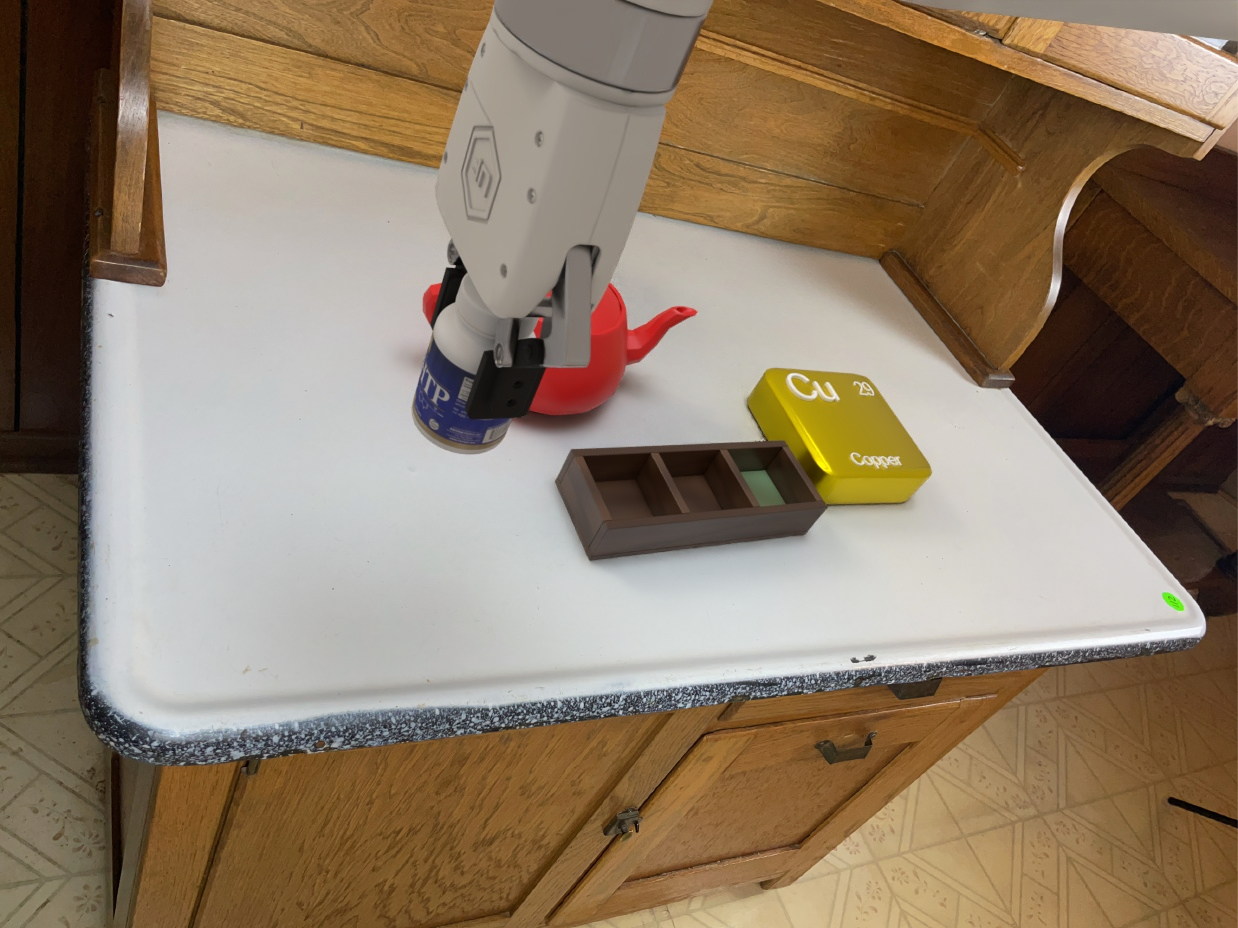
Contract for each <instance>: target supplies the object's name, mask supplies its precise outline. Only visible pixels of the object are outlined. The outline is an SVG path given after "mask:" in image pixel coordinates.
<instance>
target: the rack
mask: <svg viewBox="0 0 1238 928" xmlns="http://www.w3.org/2000/svg"><path fill="white" fill-rule="evenodd" d="M554 481H555V482H554V483H555V484H556V487H557V489H558V492H559V493H560V496H561V498H562V500H563V503H564V505H565V508H566V510H567V513H568V514H569V516H570V519H571V521H572V523H573V526H574V528H575V531H576V533H577V535H578V537H579V540H580V542H581V544H582V547H583V548H584V549H583V550H584V551H585V554H586V556H587V558H588V560H589V561H594V560H603V559H610V558H619V557H628V556H636V555H643V554H653V553H661V552H670V551H678V550H688V549H695V548H703V547H712V546H720V545H727V544H737V543H743V542H752V541H761V540H770V539H778V538H786V537H793V536H794V537H796V536H802V535H806V534H808V531H809V530H810V529H811V528H812V527H814V524H815V523H816V522H817V521H818V520H819V519H820V518H821V516H822V515H823V514H824V513H825V512H826V510H827V509H828V508H829V506H828V504H826V503H825V502H824V501H823V499H822V497H821V496H820V494H819V493H818V491H817V489H816V488H815V486H814V485H813V483H812V482H811V480H810V479H809V477H808V476H807V474H806V472H805V471H804V469H803V468H802V466H801V465H800V463H799V462H798V460H797V459H796V457H795V456H794V454H793V452H792V451H791V449H790V448H789V447H788V445H787V443H786V442H785V441H784V440H779V441H768V440H759V441H734V442H733V441H731V442H709V443H684V444H664V445H662V444H661V445H639V446H638V445H637V446H636V445H635V446H614V447H592V448H590V447H589V448H571V449H570V450H569V452H568V454H567V456H566V458H565V460H564V462H563V464H562V466H561V468H560V470H559V473H558V474H557V477H556V478H555V480H554Z"/></svg>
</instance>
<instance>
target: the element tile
mask: <svg viewBox="0 0 1238 928" xmlns="http://www.w3.org/2000/svg"><path fill="white" fill-rule="evenodd" d="M747 405H748V408H749V411H750V412H751V414H752V416H753V418H754V419H755V421H756V422H757V425H758V426H759V428H760V430H761V432H762V433H763V436H764V437H765V439H766V441H779V440H784V441H785V442H786V443H787V445H788V447H789V448H790V449H791V451H792V452H793V454H794V456H795V457H796V459H797V460H798V462H799V463H800V465H801V466H802V468H803V469H804V471H805V472H806V474H807V476H808V477H809V479H810V480H811V482H812V483H813V485H814V486H815V488H816V489H817V491H818V493H819V494H820V496H821V497H822V499H823V501H824V502H825V503H826V505H855V504H858V505H859V504H900V503H905V502H907V501H908V500H910V499H911V498H912V497H913V496H914V495H915V494H916V493H917V491H919V490H920V488H921V487H922V486H923V485H925V483H926V482H927V481H928V480H929V479H930V478H931V477H932V474H933V473H932V472H933V470H932V467H931V464H930V463H929V461H928V460H927V458H926V457H925V455H924V453H923V452H922V451H921V449H920V448H919V447H918V445H917V444H916V442H915V441H914V440H913V438H912V437H911V435H910V434H909V432H908V431H907V429H906V427H905V426H904V424H902V422H901V421H900V419H899V418H898V416H897V415H896V414H895V412H894V411H893V409H892V408H891V406H890V404H889V403H888V402H887V401H886V399H885V398H884V396H883V395H882V393H881V391H879V389H878V388H877V386H876V385H875V383H874V382H872V380H870V378H869V377H867V376H865V375H862V374H858V373H854V372H853V373H852V372H839V371H826V370H811V369H801V368H786V367H770V368H767V369H766V370H765V371H764V373H763V374H762V376H761V378H760V379H759V380H758V381H757V384H755V386H754V388H753V390H752V391H751V393H750V394H749V396H748V397H747Z"/></svg>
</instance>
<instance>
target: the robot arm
mask: <svg viewBox="0 0 1238 928" xmlns="http://www.w3.org/2000/svg"><path fill="white" fill-rule="evenodd" d="M900 1H902V2H906V3H908V4H914V5H919V6H924V7H930V8H935V9H940V10H941V9H943V10H950V11H958V12H959V11H960V12H968V13H978V14H987V15H996V16H1005V17H1015V18H1025V19H1034V20H1041V21H1042V20H1044V21H1053V22H1060V23H1061V22H1062V23H1070V24H1080V25H1082V24H1083V25H1088V26H1097V27H1106V28H1116V29H1124V30H1133V31H1143V32H1149V33H1150V32H1151V33H1158V34H1159V33H1160V34H1167V35H1168V34H1169V35H1178V36H1186V37H1195V38H1203V39H1204V38H1205V39H1212V40H1213V39H1214V40H1222V41H1231V42H1232V41H1233V42H1238V0H900ZM713 2H714V0H494V3H493V6H492V10H491V13H490V17H489V21H488V23H487V25H486V28H485V30H484V32H483V35H482V37H481V40H480V42H479V44H478V47H477V49H476V52H475V54H474V58H473V59H472V63H471V66H470V68H469V71H468V74H467V77H466V80H465V83H464V86H463V88H462V92H461V95H460V99H459V102H458V104H457V108H456V111H455V114H454V118H453V121H452V123H451V126H450V127H451V128H450V131H449V134H448V138H447V140H446V144H445V147H444V151H443V154H442V158H441V162H440V164H439V165H440V166H439V169H438V172H437V175H436V180H435V186H434V192H435V201H436V205H437V208H438V211H439V213H440V215H441V218H442V220H443V223H444V226H445V227H446V230H447V231H448V234H449V236H450V240H449V242H448V244H447V249H446V257H447V258H446V259H447V262H448V264H449V265H450V266H454V267H449V266H446V267H445V271H444V273H443V277H442V281H441V283H442V284H441V287H440V291H439V295H438V298H437V302H436V305H435V309H434V312H433V316H432V320H431V323H430V324H429V326H430V328H431V330H432V332H433V328H434V326H435V323H436V320H437V318H438V316H439V315H440V313H441V312H442V311H443V310H444V309H445V308H446V307H447V306H449V305H450V304H452V303H455V301H456V296H457V294H458V291H459V288H460V285H461V282H462V279H463V277H464V276H465V275H466V274H467V273H468V274H469V276H470V278H471V280H472V282H473V284H474V286H475V288H476V290H477V292H478V294H479V295H480V297H481V299H482V300H483V302H484V303H485V305H486V306H487V307H488V308H489V310H490V311H491V312H492V313H493V314H495V315H496V316H497V317H499V320H498V326H497V332H496V338H495V344H494V350H488V351H484V352H483V355H482V358H481V361H480V364H479V367H478V370H477V373H476V376H475V379H474V382H473V385H472V388H471V391H470V393H469V396H468V399H467V402H466V405H465V411H466V413H467V415H468V418H469V419H472V420H478V419H505V418H512V419H522V418H524V417H525V416H527V415H528V413H529V412H530V410H529V409H530V406H531V404H532V402H533V399H534V397H535V394H536V392H537V389H538V387H539V385H540V382H541V380H542V377H543V375H544V372H545V370H546V368H553V367H556V368H585V367H587V366H588V365H589V362H590V356H591V314H592V313H593V312H594V310H595V309H596V307H597V306H598V304H599V302H600V300H601V299H602V297H603V295H604V293H605V291H606V289H607V287H608V285H609V283H611V280H612V278H613V276H614V274H615V271H616V269H617V267H618V265H619V262H620V260H621V258H622V254H623V252H624V250H625V247H626V244H627V241H628V239H629V236H630V233H631V231H632V228H633V225H634V223H635V219H636V216H637V213H638V211H639V209H640V206H641V202H642V200H643V196H644V193H645V190H646V187H647V184H648V181H649V177H650V174H651V171H652V168H653V163H654V160H655V156H656V153H657V150H658V146H659V142H660V139H661V134H662V129H663V126H664V122H665V118H666V114H667V109H666V106H665V105H666V104H668V103H669V102H670V101H671V100H673V97H674V95H675V92H676V91H677V88H678V85H679V83H680V82H681V79H682V76H683V74H684V72H685V69H686V67H687V65H688V62H689V60H690V58H691V55H692V53H693V51H694V48H695V46H696V44H697V41H698V39H699V37H700V34H701V31H702V29H703V28H704V25H705V22H706V20H707V17H708V15H709V11H710V10H711V7H712V5H713ZM551 290H552V291H551ZM550 291H551V296H550V297H546V296H547V294H548V293H549V292H550ZM524 317H540V318H543V323H542V328H541V333H540V338H526V339H519V340H518V337H519V331H520V325H521V320H522V318H524Z"/></svg>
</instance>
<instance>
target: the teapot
mask: <svg viewBox="0 0 1238 928" xmlns="http://www.w3.org/2000/svg"><path fill="white" fill-rule="evenodd" d="M441 284H442V282H439V283H434V284H430V285H429V287H428V288H427V289H426V290H425V291H424V293H423V296H422V313H423V315H424V317H425V319H426V321H427V323H428V325H430V323H431V320H432V316H433V312H434V309H435V305H436V302H437V298H438V295H439V291H440V287H441ZM551 291H552V290H551ZM551 291H550V292H549V293H548V294H547V296H546V297H550V296H551ZM697 314H698V310H696V309H695V308H693V307H689V306H684V305H677V306H676V305H675V306H672V307H669V308H667V309H666V310H664V311H662V312H659V313H658V314H656V315H655V316H654V317H652V318H651V319H650V320H648V321H647V322H646V323H644V324H642V325H639V326H638V327H636V328H633V329H629V327H628V313H627V306H626V304H625V301H624V299H623V297H622V294H621V293H620V291H619V290H618V289H617V288H616V287H615V285H613V284H612V282H610V283H609V285H608V287H607V289H606V291H605V293H604V295H603V297H602V299H601V300H600V302H599V304H598V306H597V307H596V309H595V310H594V312H593V313H592V314H591V356H590V362H589V365H588V366H587V367H585V368H556V367H553V368H546V370H545V372H544V375H543V377H542V380H541V382H540V385H539V387H538V389H537V392H536V394H535V397H534V399H533V402H532V404H531V406H530V409H529V412H530V411H531V412H535V413H539V414H544V415H549V416H553V417H555V416H565V415H566V416H567V415H576V414H577V415H579V414H584V413H588V412H589V411H591V410H594V409H595V408H597V407H599V406H601V405H602V404H604V403H606V402H608V400H610V399H611V398H612V397H613V396H614V395H615V394H616V391H617V389H618V388H619V386H620V384H621V381H622V379H623V378H624V375H625V373H626V367H627V366H631V365H634V364H639V363H641V361H643V360H644V359H645V358H646V357H647V356H648V355H649V354H650V353H651V352H652V351H653V350H654V349H655V348H656V347H657V346H658V344H659V343H660V342H661V341H662V340H663V338H664V337H665V335H666V334H667V333H668V331H670V329H672V328H673V327H675V326H677V325H678V324H680V323H682V322H684V321H686V320H687V319H689V318H692V317H695V316H696V315H697ZM542 323H543V318H540V317H539V319H538V322H537V324H536V327H535V329H534V330H533V331H534V333H535V336H536V338H540V333H541V328H542Z"/></svg>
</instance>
